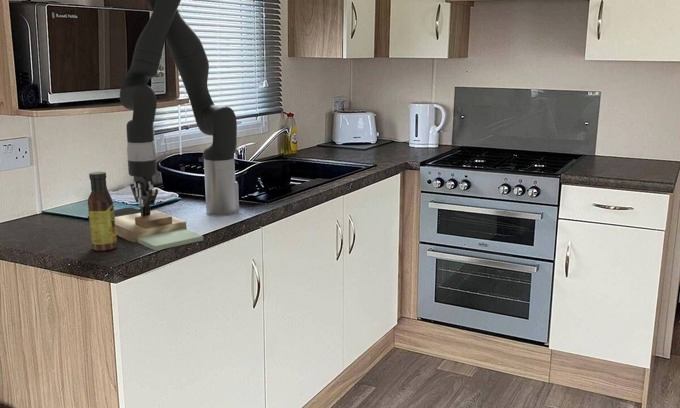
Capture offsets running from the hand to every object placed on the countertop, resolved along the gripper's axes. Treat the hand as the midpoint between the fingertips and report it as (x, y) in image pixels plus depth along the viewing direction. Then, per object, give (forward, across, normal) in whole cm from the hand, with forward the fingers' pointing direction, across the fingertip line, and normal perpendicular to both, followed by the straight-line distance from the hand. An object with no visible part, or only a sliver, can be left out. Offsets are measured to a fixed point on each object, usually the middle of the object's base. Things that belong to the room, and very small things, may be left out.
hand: (145, 218), depth 192 cm
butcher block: (+4, +1, 0) cm, 4 cm away
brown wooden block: (+1, -5, 0) cm, 5 cm away
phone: (+4, +23, -1) cm, 23 cm away
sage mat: (+4, -14, 0) cm, 14 cm away
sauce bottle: (+4, -8, +16) cm, 18 cm away
